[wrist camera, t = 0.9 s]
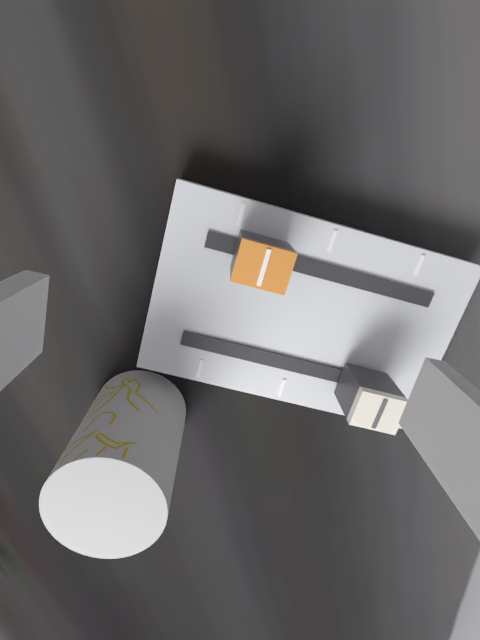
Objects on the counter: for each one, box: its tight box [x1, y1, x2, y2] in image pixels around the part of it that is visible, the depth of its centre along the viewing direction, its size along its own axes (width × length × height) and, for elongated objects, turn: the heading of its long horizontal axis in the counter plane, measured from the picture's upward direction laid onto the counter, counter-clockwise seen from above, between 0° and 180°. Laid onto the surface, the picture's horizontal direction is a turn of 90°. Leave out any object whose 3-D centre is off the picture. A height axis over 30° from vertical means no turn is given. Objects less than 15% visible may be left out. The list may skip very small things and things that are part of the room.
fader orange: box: [230, 229, 298, 295], centre depth 28 cm, size 3×4×5 cm
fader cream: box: [334, 363, 408, 435], centre depth 32 cm, size 3×4×5 cm
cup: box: [39, 370, 186, 559], centre depth 32 cm, size 8×8×12 cm
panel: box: [136, 179, 480, 429], centre depth 34 cm, size 15×24×3 cm, turn 75°
